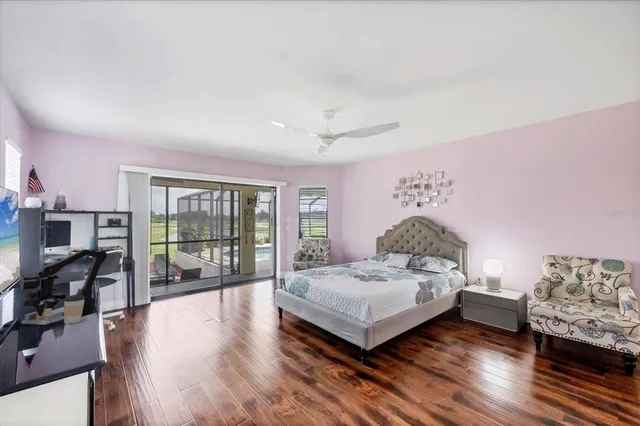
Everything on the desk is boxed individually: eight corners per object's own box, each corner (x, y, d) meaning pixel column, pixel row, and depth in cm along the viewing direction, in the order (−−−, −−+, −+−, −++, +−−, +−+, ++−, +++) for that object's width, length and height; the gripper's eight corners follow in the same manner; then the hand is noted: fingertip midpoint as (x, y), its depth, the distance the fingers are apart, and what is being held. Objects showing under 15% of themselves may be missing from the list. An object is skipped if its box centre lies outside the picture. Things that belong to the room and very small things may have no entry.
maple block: (51, 317, 159) (52, 308, 159) (44, 319, 155) (45, 309, 156) (42, 317, 159) (43, 307, 160) (36, 319, 156) (37, 309, 156)
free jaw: (44, 316, 162) (44, 310, 162) (29, 320, 154) (29, 314, 154) (37, 315, 162) (37, 310, 162) (21, 319, 154) (22, 314, 154)
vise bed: (64, 318, 162) (65, 310, 163) (45, 324, 151) (46, 316, 152) (42, 317, 163) (43, 309, 163) (21, 323, 152) (22, 315, 152)
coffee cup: (58, 322, 155) (61, 295, 156) (78, 318, 163) (80, 292, 164) (65, 325, 151) (68, 297, 152) (86, 321, 159) (88, 294, 160)
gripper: (50, 283, 168) (47, 309, 167) (15, 290, 150) (11, 319, 149) (67, 284, 168) (65, 310, 167) (34, 290, 149) (31, 320, 148)
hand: (44, 314), depth 157 cm, fingers open, 4 cm apart
